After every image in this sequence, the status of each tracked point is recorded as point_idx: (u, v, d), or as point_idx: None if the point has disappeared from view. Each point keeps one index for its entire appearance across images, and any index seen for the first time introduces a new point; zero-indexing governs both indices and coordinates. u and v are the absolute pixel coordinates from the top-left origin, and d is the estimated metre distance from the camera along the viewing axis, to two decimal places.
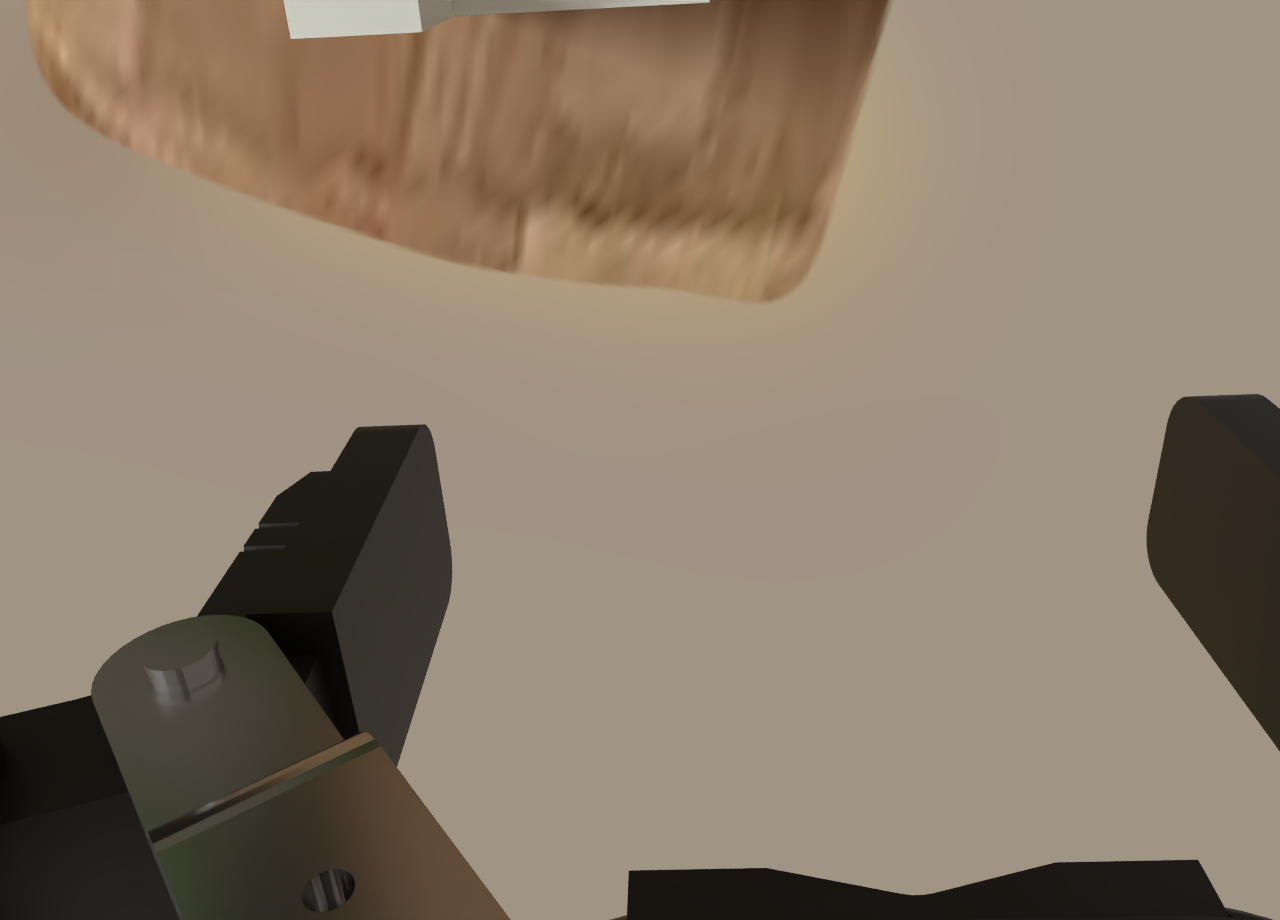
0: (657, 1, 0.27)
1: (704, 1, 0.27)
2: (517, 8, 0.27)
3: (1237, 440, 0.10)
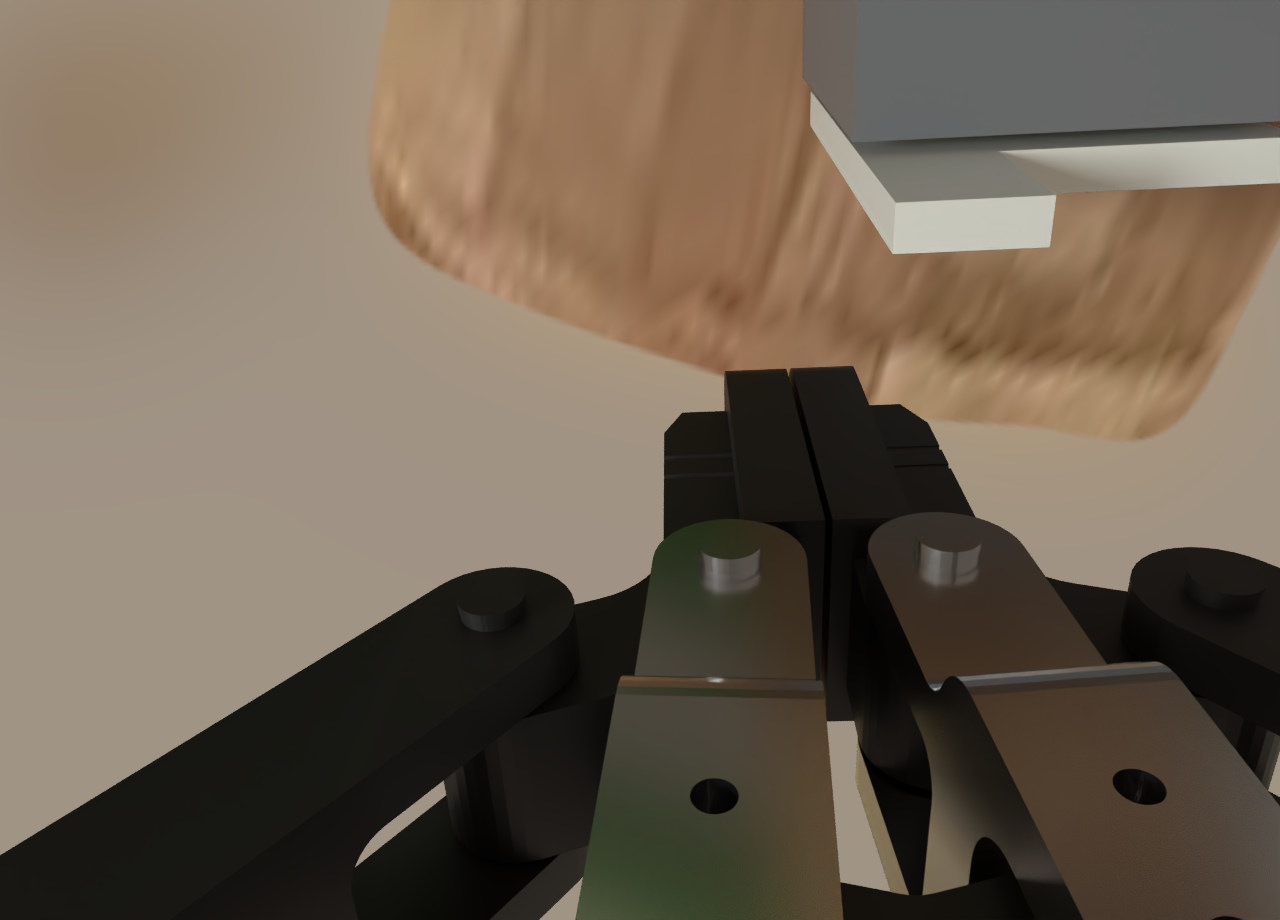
0: (1232, 181, 0.24)
1: None
2: (1068, 188, 0.24)
3: (803, 405, 0.11)
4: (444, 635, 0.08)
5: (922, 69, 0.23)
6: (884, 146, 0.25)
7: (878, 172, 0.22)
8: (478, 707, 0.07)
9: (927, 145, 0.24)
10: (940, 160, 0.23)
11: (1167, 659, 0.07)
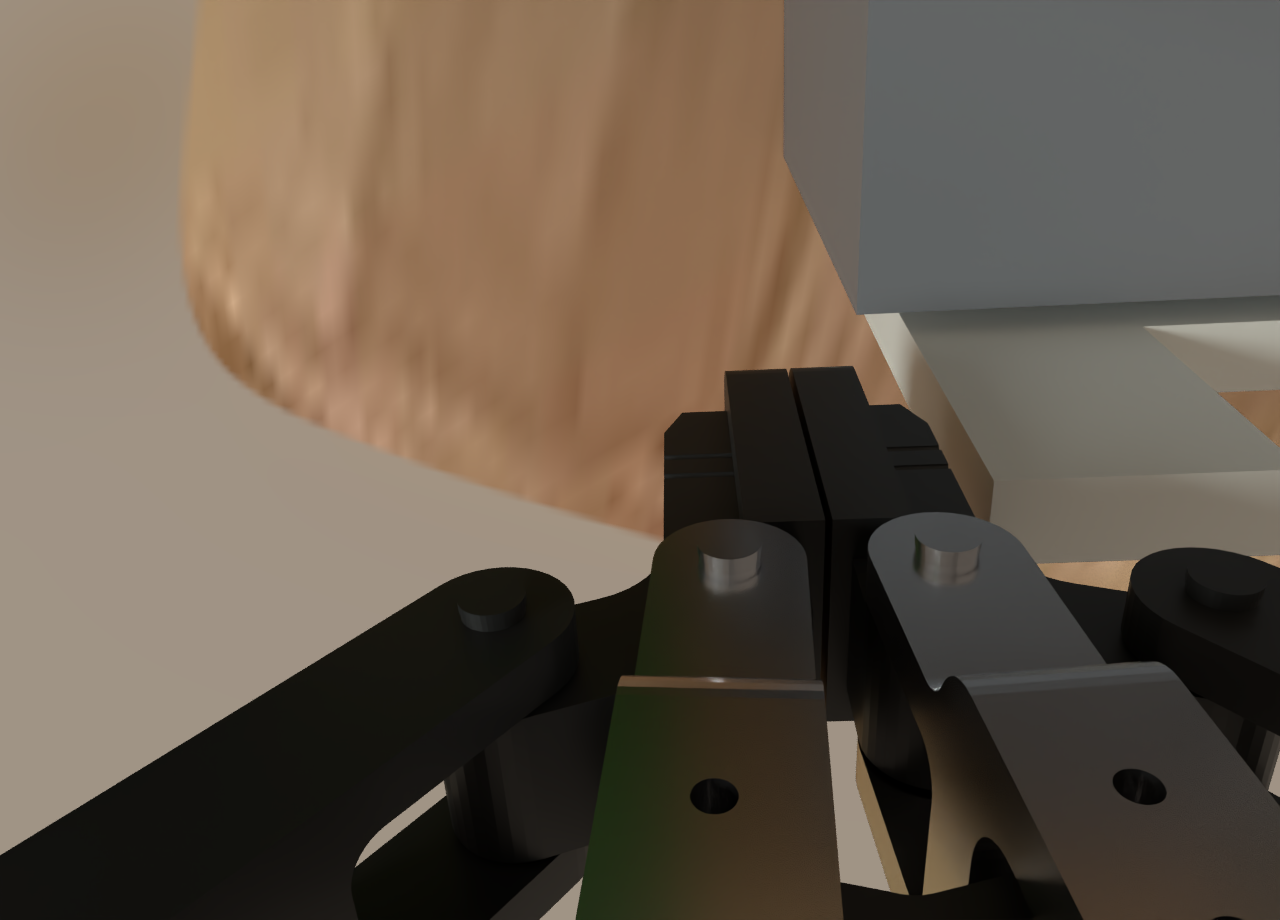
0: None
1: None
2: (1256, 383, 0.14)
3: (803, 405, 0.11)
4: (444, 635, 0.08)
5: (975, 198, 0.13)
6: None
7: (947, 380, 0.13)
8: (478, 707, 0.07)
9: (1018, 307, 0.15)
10: (1049, 349, 0.13)
11: (1167, 659, 0.07)
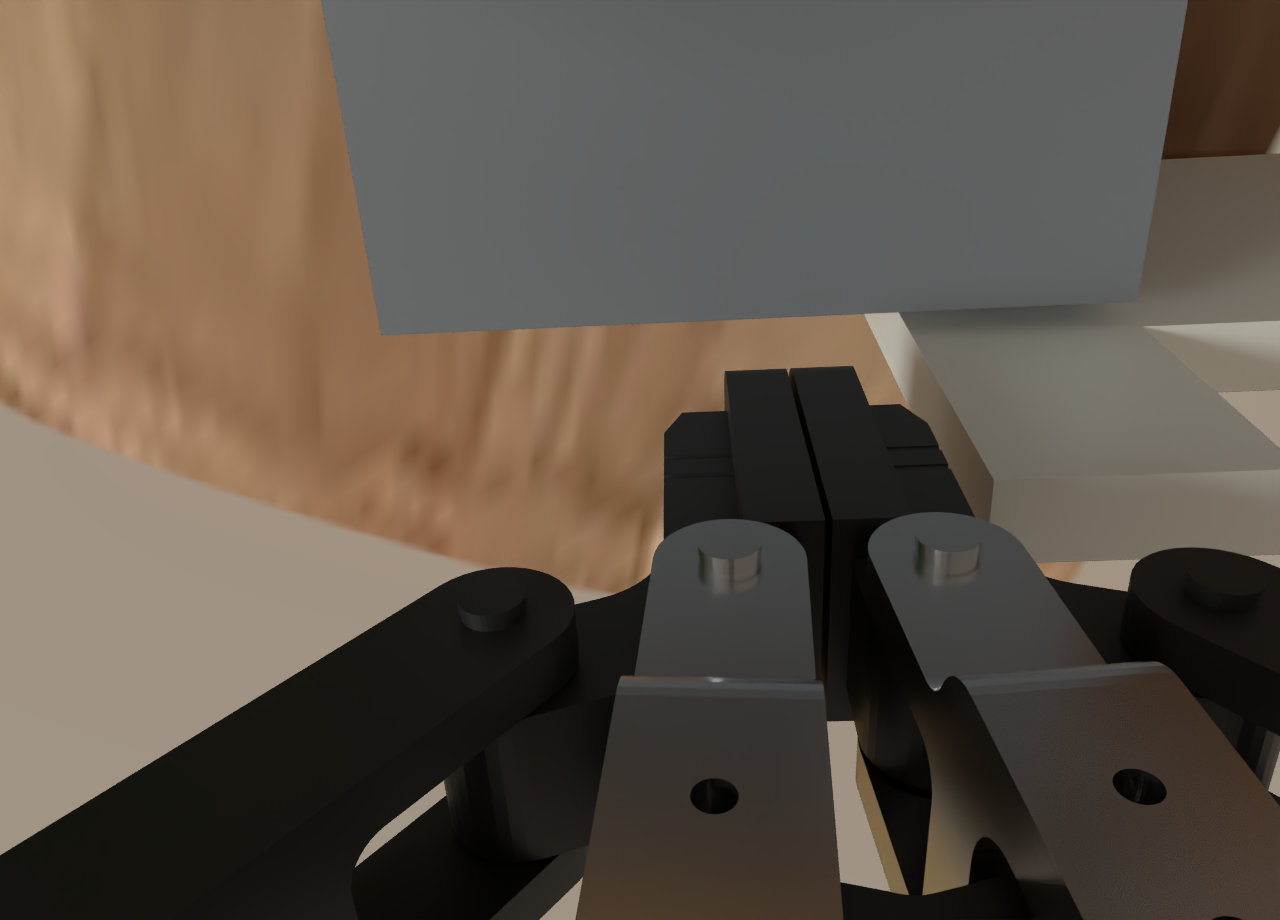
0: None
1: None
2: (1256, 384, 0.14)
3: (803, 405, 0.11)
4: (444, 635, 0.08)
5: (471, 223, 0.14)
6: None
7: (947, 379, 0.13)
8: (478, 708, 0.07)
9: None
10: (1049, 349, 0.13)
11: (1167, 660, 0.07)
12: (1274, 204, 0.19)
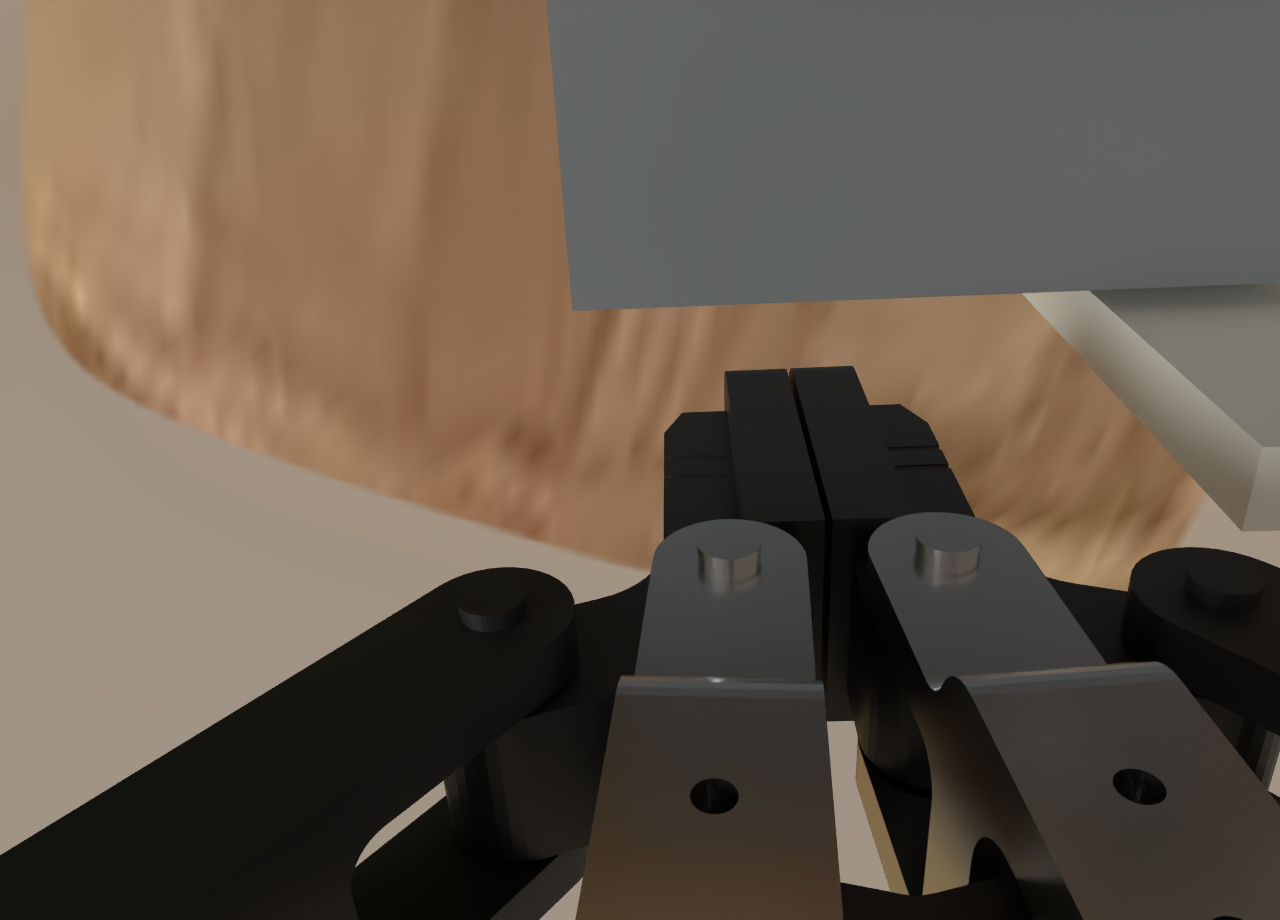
0: None
1: None
2: None
3: (803, 405, 0.11)
4: (445, 635, 0.08)
5: (672, 199, 0.14)
6: None
7: (1170, 354, 0.13)
8: (478, 707, 0.07)
9: (1208, 286, 0.15)
10: (1260, 325, 0.14)
11: (1167, 659, 0.07)
12: None
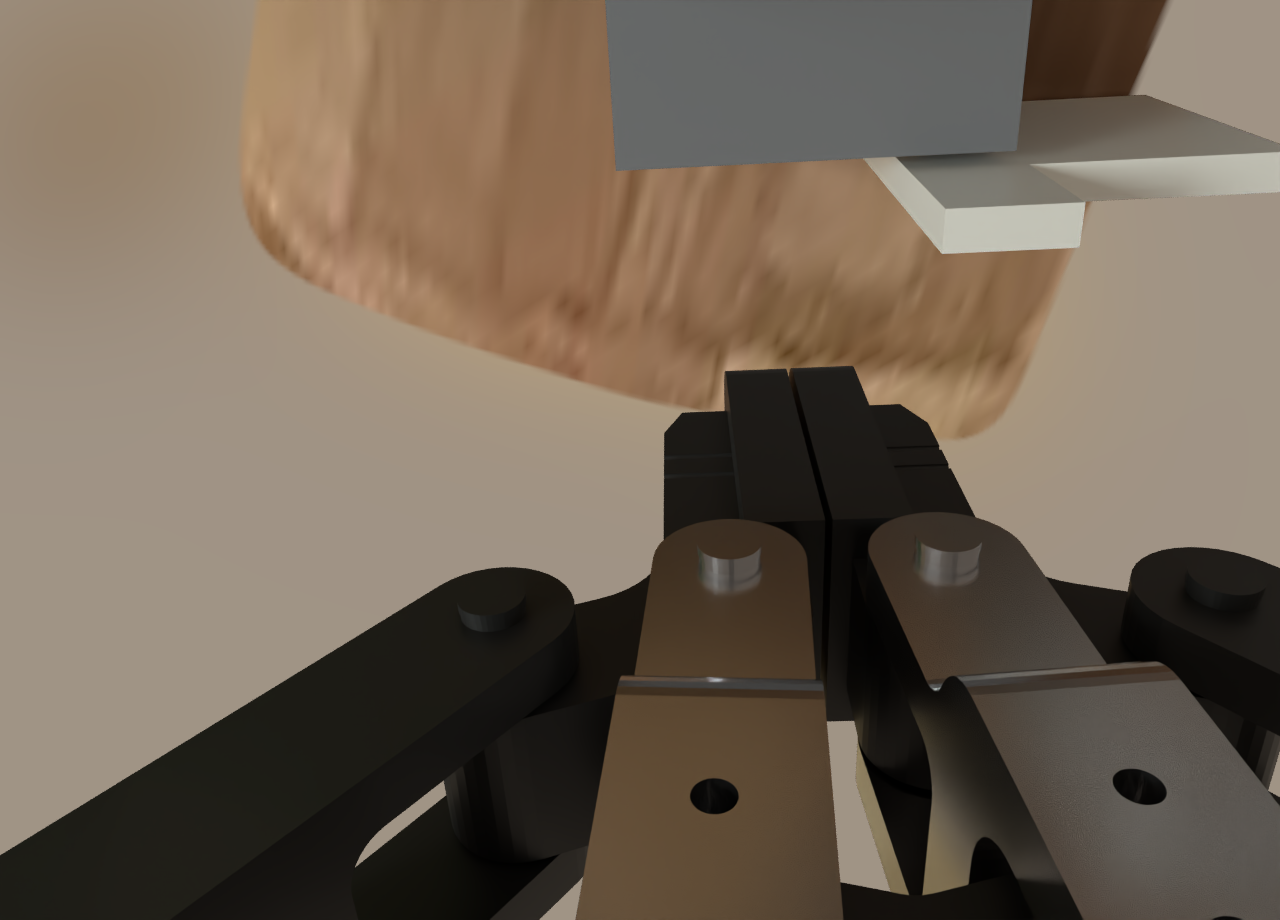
0: (1237, 190, 0.27)
1: None
2: (1091, 197, 0.27)
3: (803, 405, 0.11)
4: (444, 635, 0.08)
5: (669, 108, 0.26)
6: (926, 160, 0.28)
7: (926, 183, 0.25)
8: (478, 708, 0.07)
9: (965, 159, 0.27)
10: (979, 172, 0.26)
11: (1167, 660, 0.07)
12: (1124, 117, 0.31)
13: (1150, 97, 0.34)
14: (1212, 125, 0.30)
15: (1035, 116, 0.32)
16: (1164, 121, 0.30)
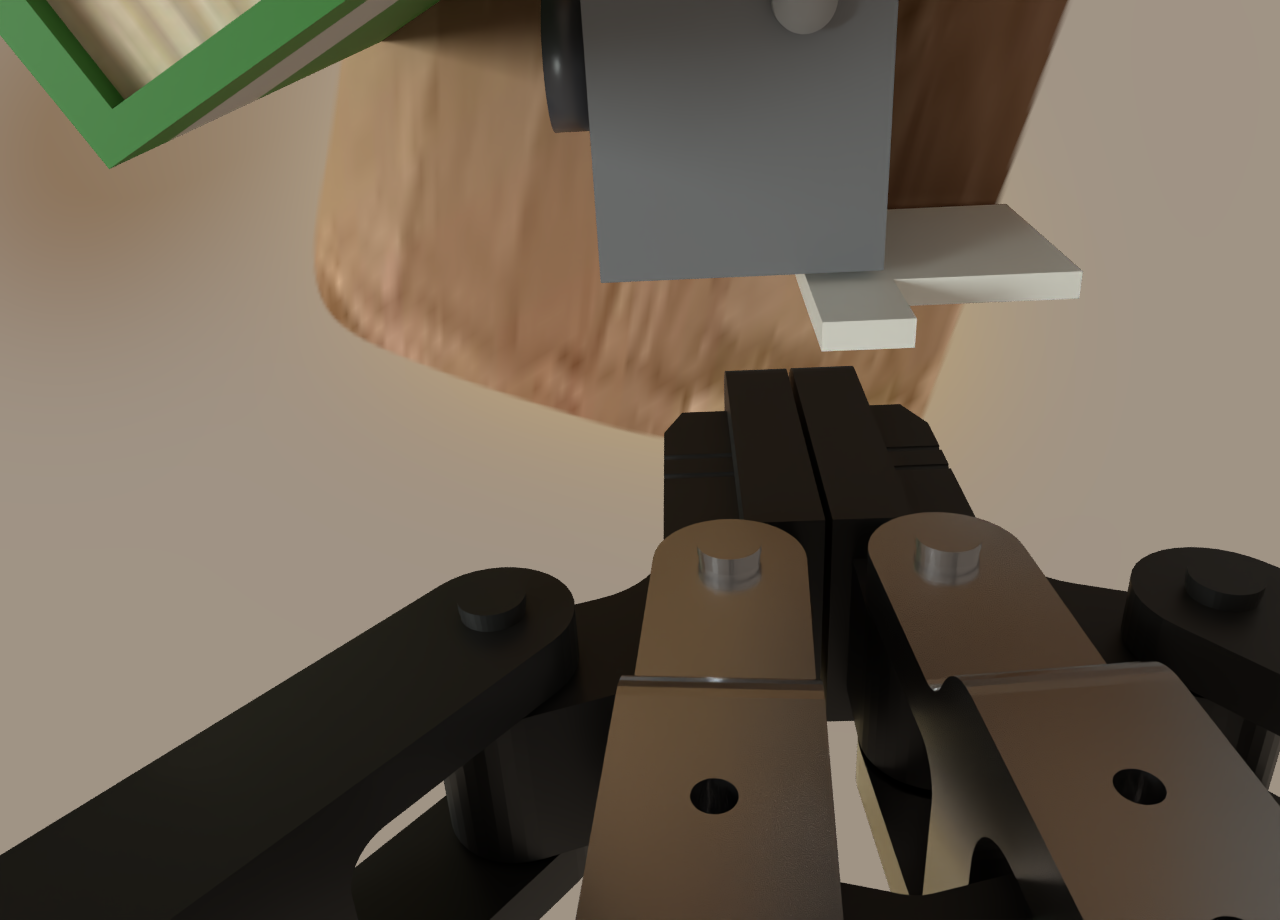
0: (1041, 297, 0.38)
1: (1075, 297, 0.38)
2: (938, 301, 0.38)
3: (803, 405, 0.11)
4: (444, 635, 0.08)
5: (638, 240, 0.37)
6: None
7: (816, 296, 0.36)
8: (478, 707, 0.07)
9: (850, 272, 0.38)
10: (856, 286, 0.37)
11: (1167, 659, 0.07)
12: (979, 230, 0.42)
13: (1008, 207, 0.45)
14: (1037, 241, 0.41)
15: (916, 226, 0.43)
16: (1006, 235, 0.41)
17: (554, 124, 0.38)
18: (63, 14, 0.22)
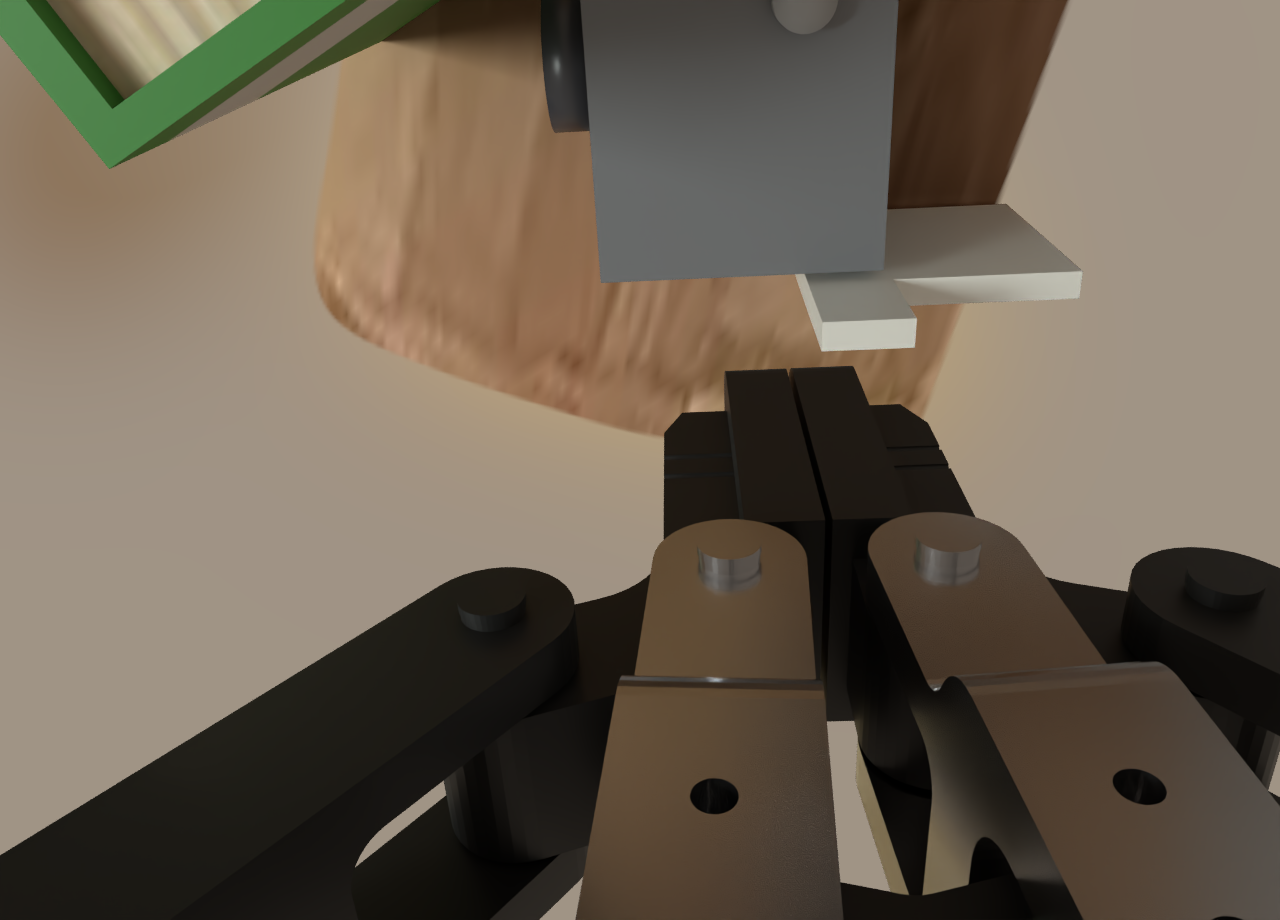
0: (1041, 297, 0.38)
1: (1075, 297, 0.38)
2: (938, 301, 0.38)
3: (803, 405, 0.11)
4: (444, 635, 0.08)
5: (638, 240, 0.37)
6: None
7: (816, 296, 0.36)
8: (478, 707, 0.07)
9: (850, 272, 0.38)
10: (856, 286, 0.37)
11: (1167, 659, 0.07)
12: (979, 230, 0.42)
13: (1008, 207, 0.45)
14: (1037, 241, 0.41)
15: (916, 226, 0.43)
16: (1006, 235, 0.41)
17: (554, 124, 0.38)
18: (63, 14, 0.22)
